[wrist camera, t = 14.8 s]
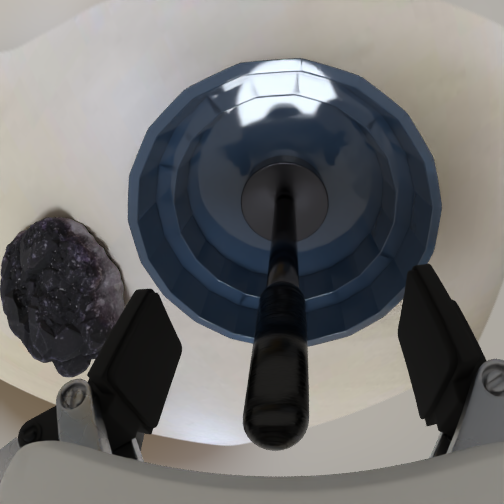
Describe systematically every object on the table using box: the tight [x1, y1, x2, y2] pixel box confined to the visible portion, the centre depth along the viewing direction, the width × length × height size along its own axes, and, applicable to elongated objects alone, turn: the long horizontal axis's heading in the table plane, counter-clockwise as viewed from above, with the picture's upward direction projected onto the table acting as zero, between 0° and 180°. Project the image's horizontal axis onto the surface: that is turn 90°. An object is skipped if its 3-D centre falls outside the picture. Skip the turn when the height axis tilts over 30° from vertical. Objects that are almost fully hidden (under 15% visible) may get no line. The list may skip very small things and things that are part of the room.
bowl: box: [128, 58, 442, 346], centre depth 17 cm, size 16×16×6 cm
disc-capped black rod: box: [241, 155, 329, 451], centre depth 13 cm, size 5×5×16 cm
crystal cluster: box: [0, 217, 125, 377], centre depth 22 cm, size 13×14×10 cm
